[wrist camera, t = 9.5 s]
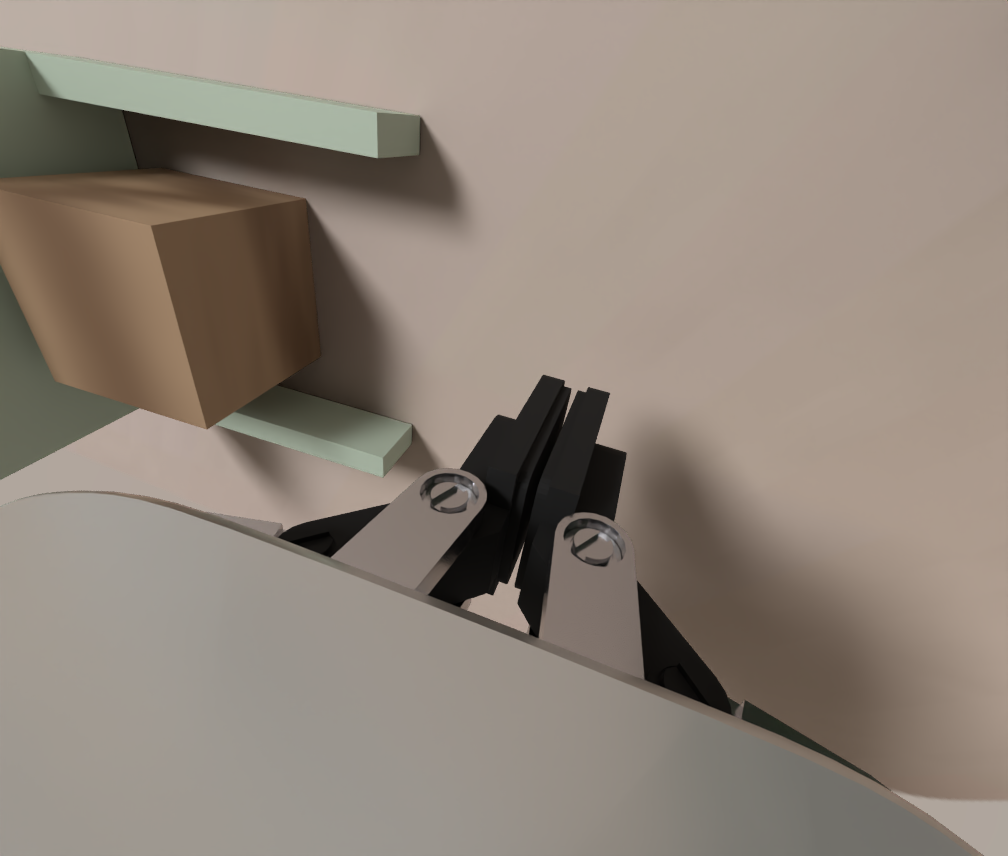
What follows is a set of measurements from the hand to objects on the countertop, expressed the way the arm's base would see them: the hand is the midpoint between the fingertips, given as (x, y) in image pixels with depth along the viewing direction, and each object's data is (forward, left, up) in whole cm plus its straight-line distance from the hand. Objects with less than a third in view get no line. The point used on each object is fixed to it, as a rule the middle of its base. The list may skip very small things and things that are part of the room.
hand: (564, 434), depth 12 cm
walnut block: (+14, 0, -5) cm, 15 cm away
